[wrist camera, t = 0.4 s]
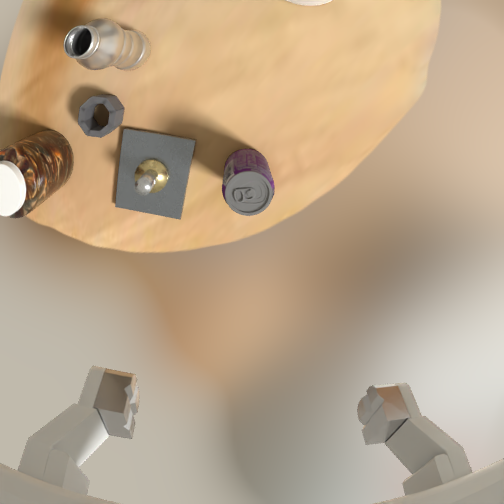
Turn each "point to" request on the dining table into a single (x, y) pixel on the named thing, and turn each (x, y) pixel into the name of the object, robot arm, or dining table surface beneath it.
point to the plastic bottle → (107, 46)
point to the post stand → (153, 172)
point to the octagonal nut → (87, 115)
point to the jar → (33, 171)
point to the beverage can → (247, 182)
